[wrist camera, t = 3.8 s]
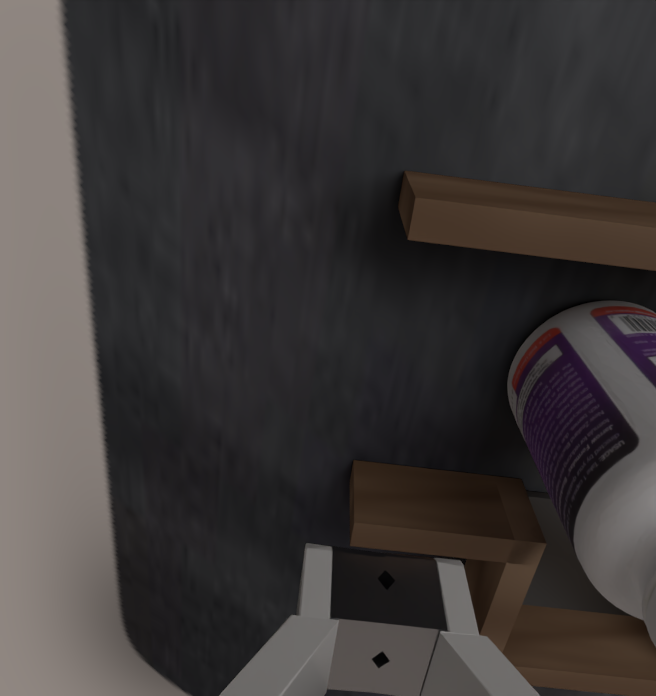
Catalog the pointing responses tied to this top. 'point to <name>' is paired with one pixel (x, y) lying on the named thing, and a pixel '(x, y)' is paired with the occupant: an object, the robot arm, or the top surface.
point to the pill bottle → (597, 440)
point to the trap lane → (509, 493)
